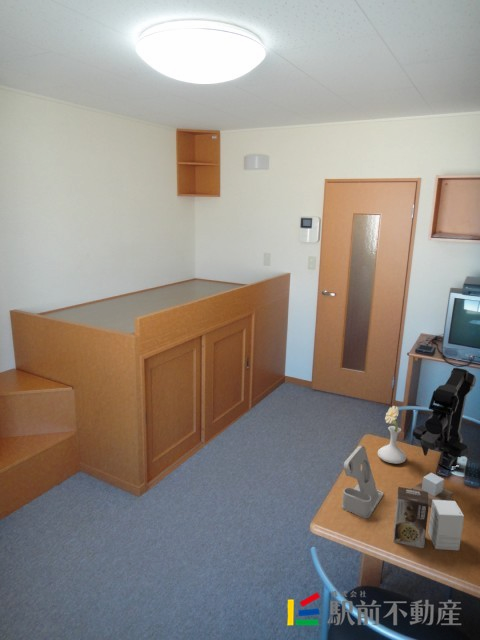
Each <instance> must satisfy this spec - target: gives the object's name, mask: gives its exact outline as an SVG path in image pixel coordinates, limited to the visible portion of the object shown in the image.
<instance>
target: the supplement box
mask: <svg viewBox="0 0 480 640" xmlns="http://www.w3.org/2000/svg"><path fill="white" fill-rule="evenodd" d="M464 518H465V515H464V514H463V512H462V510H461V508H460V506H459V505H458V503H457V502H456V500H451V501H446V500H432V507H430V515H429V522H428V523H429V524H428V531H427V534H428V536H429V537H430V540H431V541H432V545H433V546H434V549H435V550H446V551H447V550H448V551H460V545H461V540H462V533H463V527H464Z"/></svg>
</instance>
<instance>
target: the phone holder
mask: <svg viewBox="0 0 480 640" xmlns="http://www.w3.org/2000/svg"><path fill="white" fill-rule="evenodd" d="M370 464H371V463H370V462H369V457H368V454H367V450H366V448H365V446H364V445H358V446H357V447H356V448H355V449H354V450H353V452H352V453H351V454H350V455H349V457H347V459H346V460H345V461H344V462H343V471H344V473H345V476H347V477H350V478H353V479H356V481H357V484H356V485H355V487H354V488H352V487H345V488H344V489H343V490H342V504H341V509H342V510H344V509H345V510H344V511H346V510H347V511H346V512H349V513H351V512H352V514H353V513H354V515H356V516H358V515H359V517H360V518H363V519H369V518H370V517H371V515H372V513H373V512H374V511H375V508H377V506H378V504H379V503H380V501H381V499H382V498H383V497H384V492H383V491H381V490H379V489H377V486H376V483H375V479H374V476H373V472H372V468H371V465H370Z"/></svg>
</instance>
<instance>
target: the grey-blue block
mask: <svg viewBox="0 0 480 640" xmlns="http://www.w3.org/2000/svg"><path fill="white" fill-rule="evenodd" d="M422 478H423V479H422V482H423V484H422V490H424V491H426V492H428V493H429V494H431V495H433V496H436V495H438V494H439V493H441V492H442V490H443V488H444V482H445V479H444V478H443V477H441V476H438V475H437V474H434V473H433V472H429V473H428V474H426V475H425V476H423V477H422Z"/></svg>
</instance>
